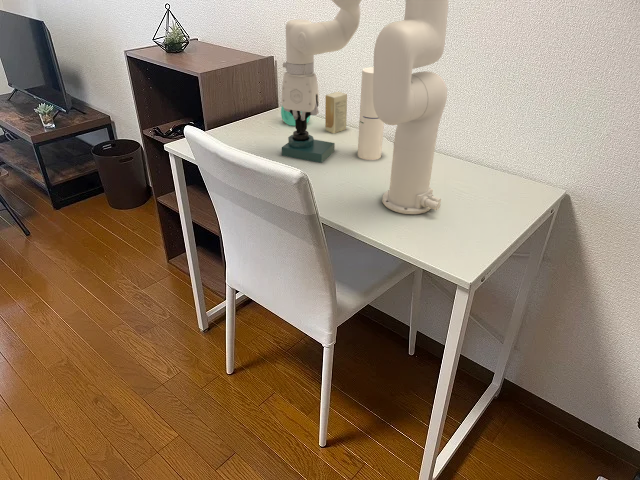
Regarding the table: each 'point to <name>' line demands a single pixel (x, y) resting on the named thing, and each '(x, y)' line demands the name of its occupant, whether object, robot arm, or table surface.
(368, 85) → the cylindrical container
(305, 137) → the button
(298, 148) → the base
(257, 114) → the table surface
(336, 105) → the cosmetic box
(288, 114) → the decorative dice
